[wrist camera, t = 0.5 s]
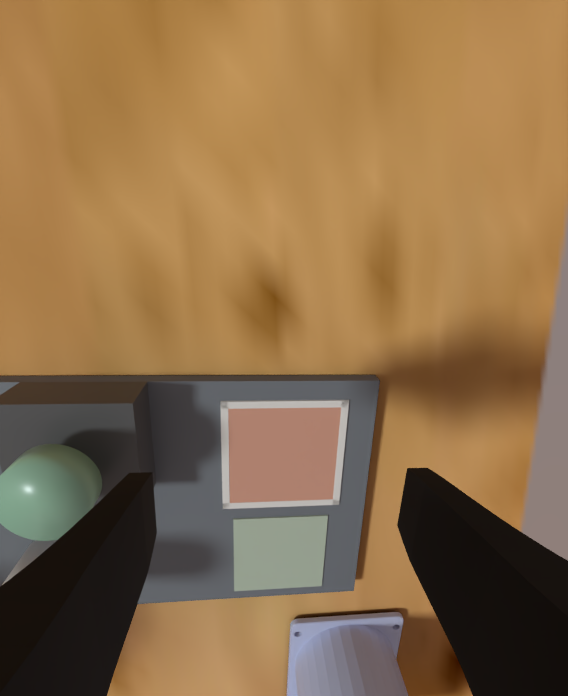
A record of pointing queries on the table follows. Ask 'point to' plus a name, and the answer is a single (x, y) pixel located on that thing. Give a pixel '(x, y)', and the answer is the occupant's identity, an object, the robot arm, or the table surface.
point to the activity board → (249, 483)
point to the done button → (48, 491)
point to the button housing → (81, 424)
